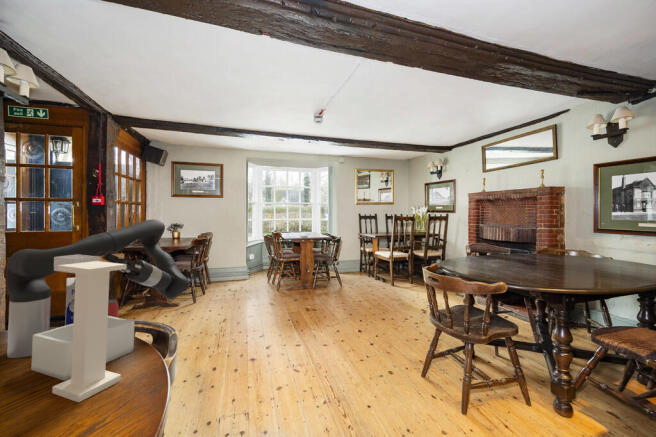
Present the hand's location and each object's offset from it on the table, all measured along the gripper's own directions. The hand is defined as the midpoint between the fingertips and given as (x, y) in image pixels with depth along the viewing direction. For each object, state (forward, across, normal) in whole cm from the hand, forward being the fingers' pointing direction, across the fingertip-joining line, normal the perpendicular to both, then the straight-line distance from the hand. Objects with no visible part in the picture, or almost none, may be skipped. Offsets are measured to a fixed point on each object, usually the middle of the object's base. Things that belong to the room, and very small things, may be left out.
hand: (102, 255), depth 90 cm
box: (-13, -1, +30) cm, 32 cm away
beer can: (-28, -17, +22) cm, 39 cm away
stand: (-6, +15, +34) cm, 37 cm away
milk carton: (-26, -31, +23) cm, 46 cm away
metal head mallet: (0, 0, +4) cm, 4 cm away
